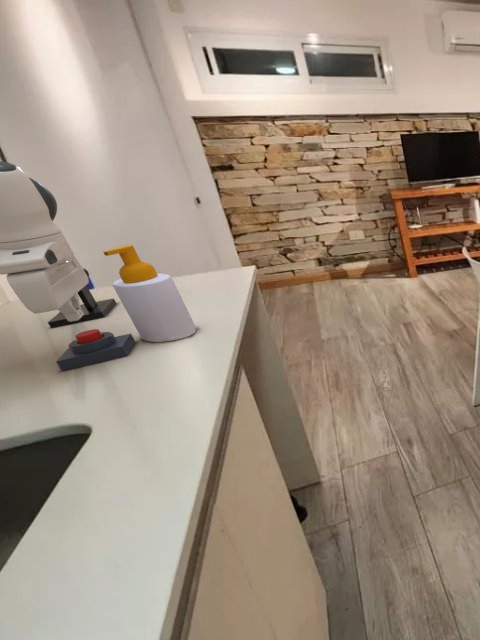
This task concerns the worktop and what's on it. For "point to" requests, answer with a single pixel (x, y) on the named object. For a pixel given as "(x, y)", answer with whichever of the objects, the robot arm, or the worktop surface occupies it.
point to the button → (88, 336)
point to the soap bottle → (151, 299)
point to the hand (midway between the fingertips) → (76, 318)
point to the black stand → (86, 309)
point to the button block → (95, 351)
